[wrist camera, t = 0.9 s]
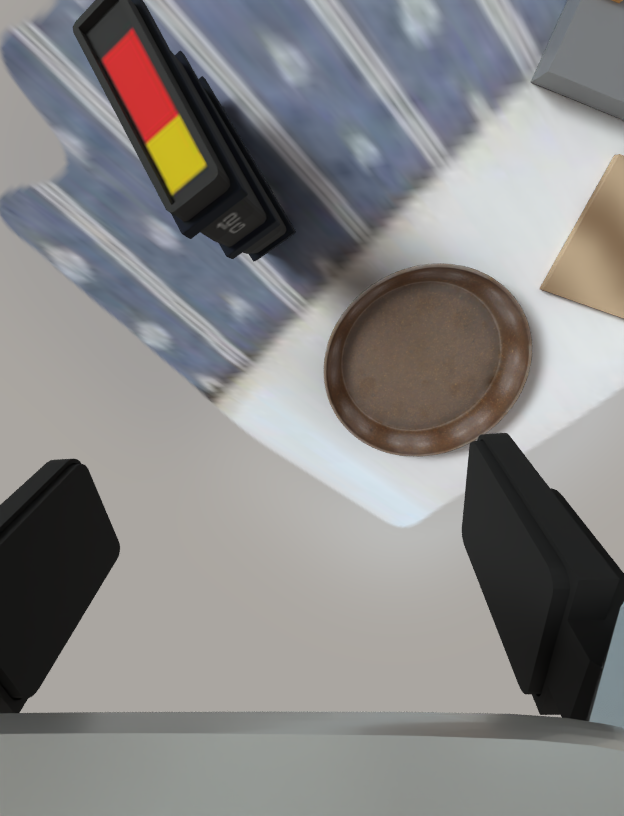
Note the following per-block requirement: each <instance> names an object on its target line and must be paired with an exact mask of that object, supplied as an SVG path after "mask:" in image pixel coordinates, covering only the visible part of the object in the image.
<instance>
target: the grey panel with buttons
mask: <svg viewBox="0 0 624 816" xmlns="http://www.w3.org/2000/svg"><path fill="white" fill-rule="evenodd" d="M531 83H534V84H536V85H539V86H541V87H544V88H546V89H549V90H551V91H554V92H556V93H558V94H561V95H563V96H566V97H568V98H571V99H573V100H576V101H578V102H581V103H583V104H585V105H588V106H590V107H593V108H595V109H598V110H600V111H603V112H605V113H607V114H610V115H612V116H615V117H617V118H620V119H622V120H624V0H567V3H566V5H565V7H564V9H563V11H562V14H561V16H560V18H559V20H558V23H557V25H556V27H555V29H554V32H553V34H552V36H551V38H550V40H549V43H548V45H547V47H546V49H545V52H544V54H543V56H542V58H541V61H540V63H539V65H538V67H537V69H536V72H535V74H534V76H533V78H532V81H531Z"/></svg>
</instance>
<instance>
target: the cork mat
mask: <svg viewBox="0 0 624 816" xmlns="http://www.w3.org/2000/svg"><path fill="white" fill-rule="evenodd" d="M540 289H541V290H544V291H547V292H550V293H553V294H555V295H558V296H561V297H564V298H567V299H570V300H572V301H575V302H578V303H581V304H584V305H587V306H589V307H592V308H595V309H598V310H601V311H604V312H606V313H609V314H612V315H615V316H618V317H621V318H623V319H624V156H623V155H620V154H618V155H614V157H613V159H612V160H611V162H610V164H609V166H608V167H607V169H606V171H605V173H604V175H603V176H602V178H601V180H600V182H599V183H598V185H597V187H596V189H595V191H594V192H593V194H592V196H591V198H590V200H589V201H588V203H587V205H586V207H585V208H584V210H583V212H582V214H581V216H580V217H579V219H578V221H577V223H576V224H575V226H574V228H573V230H572V232H571V233H570V235H569V237H568V239H567V241H566V242H565V244H564V246H563V248H562V249H561V251H560V253H559V255H558V257H557V258H556V260H555V262H554V264H553V265H552V267H551V269H550V271H549V273H548V274H547V276H546V278H545V280H544V282H543V283H542V285H541V287H540Z"/></svg>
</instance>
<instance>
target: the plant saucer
mask: <svg viewBox="0 0 624 816" xmlns="http://www.w3.org/2000/svg"><path fill="white" fill-rule="evenodd" d="M531 358H532V338H531V333H530V328H529V325H528V321H527V319H526V316H525V314H524V312H523V310H522V308H521V306H520V304H519V303H518V302H517V300H516V299H515V297H514V296H513V295H512V294H511V293H510V292H509V291H508V290H507V289H506V288H505V287H504V286H503V285H502V284H501V283H499V282H498V281H496V280H495V279H493V278H492V277H490V276H489V275H487V274H485V273H482V272H480V271H478V270H475V269H472V268H468V267H465V266H460V265H453V264H426V265H418V266H414V267H410V268H407V269H403V270H401V271H398V272H395V273H393V274H391V275H389V276H387V277H385V278H383V279H381V280H379V281H378V282H376V283H375V284H373V285H372V286H370V287H369V288H367V289H366V290H365V291H364V292H362V293H361V294H360V295H359V296H358V297H357V298H356V299H355V300H354V301H353V302H352V303H351V304H350V305H349V306H348V308H347V309H346V310H345V311H344V313H343V314H342V316H341V317H340V319H339V320H338V322H337V324H336V325H335V327H334V329H333V331H332V334H331V336H330V339H329V342H328V345H327V349H326V353H325V359H324V383H325V388H326V393H327V396H328V399H329V402H330V405H331V407H332V409H333V411H334V413H335V414H336V416H337V418H338V419H339V420H340V422H341V423H342V424H343V425H344V427H345V428H346V429H347V430H348V431H349V432H350V433H351V434H353V435H354V436H355V437H356V438H358V439H359V440H360V441H362V442H363V443H365V444H367V445H369V446H371V447H373V448H375V449H378V450H380V451H383V452H386V453H390V454H395V455H400V456H429V455H436V454H441V453H446V452H449V451H452V450H454V449H458V448H460V447H462V446H465V445H467V444H469V443H471V442H472V441H475V440H476V439H478V437H479V436H480V435H481V434H485V433H487V432H488V431H490V430H491V429H492V428H493V427H494V426H495V425H497V424H498V423H499V422H500V421H501V420H502V418H503V417H504V416H505V415H506V414H507V413H508V412H509V410H510V409H511V408H512V407H513V405H514V403H515V402H516V401H517V399H518V397H519V395H520V393H521V392H522V390H523V387H524V384H525V382H526V380H527V377H528V373H529V369H530V365H531Z"/></svg>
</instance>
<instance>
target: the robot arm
mask: <svg viewBox="0 0 624 816" xmlns="http://www.w3.org/2000/svg"><path fill="white" fill-rule="evenodd" d="M462 537H463V542H464V546H465V548H466V551H467V553H468V556H469V558H470V561H471V564H472V566H473V569H474V571H475V573H476V576H477V579H478V581H479V584H480V587H481V589H482V592H483V594H484V597H485V600H486V602H487V605H488V607H489V610H490V612H491V615H492V617H493V620H494V622H495V625H496V628H497V630H498V633H499V635H500V638H501V640H502V643H503V646H504V648H505V651H506V653H507V656H508V659H509V661H510V664H511V666H512V669H513V671H514V674H515V677H516V679H517V682H518V684H519V686H520V689H521V690H522V692H523V693H524V694H532V696H533V698H534V701H535V703H536V706H537V708H538V711H539V713H540V715H554V714H555V715H561V716H562V718H560V717H546V716H532V715H518V714H488V713H487V714H486V713H485V714H484V713H436V712H435V713H434V712H104V713H103V712H92V713H91V712H90V713H88V712H86V713H84V712H83V713H19V712H20V711H21V709H22V708H23V706H24V704H25V703H26V701H27V699H28V698H30V697H32V696H33V695H34V694H35V693H36V692H37V690H38V689H39V688H40V686H41V684H42V683H43V681H44V679H45V678H46V676H47V674H48V673H49V671H50V669H51V668H52V666H53V664H54V663H55V661H56V659H57V658H58V656H59V654H60V653H61V651H62V649H63V648H64V646H65V644H66V643H67V641H68V639H69V638H70V636H71V635H72V632H73V631H74V630H75V628H76V626H77V625H78V623H79V621H80V620H81V618H82V616H83V614H84V613H85V611H86V610H87V608H88V606H89V605H90V603H91V601H92V600H93V598H94V596H95V595H96V593H97V591H98V590H99V588H100V586H101V585H102V583H103V581H104V580H105V578H106V577H107V575H108V573H109V572H110V570H111V568H112V567H113V565H114V563H115V562H116V560H117V558H118V556H119V552H120V544H119V541H118V539H117V536H116V534H115V532H114V529H113V527H112V524H111V522H110V520H109V518H108V515H107V513H106V511H105V508H104V506H103V504H102V501H101V498H100V496H99V494H98V491H97V489H96V487H95V484H94V482H93V479H92V477H91V475H90V472H89V470H88V468H87V467H86V466H85V465H83V464H81V463H80V461H79V460H77V459H62V460H51V461H49V462H47V463H46V464H45V465H44V466H43V467H42V468H40V470H38V471H37V472H36V473H35V474H34V475H33V476H32V477H31V478H29V480H27V481H26V482H25V483H24V484H23V485H22V486H21V487H20V488H19V489H17V490H16V491H15V492H14V493H13V494H12V495H11V496H10V497H9V498H8V499H6V500H5V501H4V502H3V503H2V504H1V505H0V816H624V573H623V572H622V571H621V569H620V568H619V567H618V565H617V564H616V563H615V562H614V561H613V559H612V558H611V557H610V555H609V554H608V553H607V552H606V550H605V549H604V548H603V546H602V545H601V544H600V543H599V541H598V540H597V539H596V538H595V536H594V535H593V534H592V533H591V531H590V530H589V529H588V528H587V526H586V525H585V524H584V523H583V521H582V520H581V519H580V518H579V516H578V515H577V514H576V512H575V511H574V510H573V509H572V507H571V506H570V505H569V503H568V502H567V501H566V500H565V498H564V497H563V496H562V495H561V494H560V493H559V492H558V491H557V490H555V489H550V488H549V486H548V485H547V484H546V483H545V481H544V480H543V479H542V477H541V476H540V475H539V473H538V472H537V471H536V470H535V468H534V467H533V466H532V464H531V463H530V462H529V460H528V459H527V458H526V457H525V455H524V454H523V453H522V451H521V450H520V449H519V447H518V446H517V445H516V443H515V442H514V441H513V440H512V438H511V437H510V436H509V435H508V434H507V433H497V434H481V435H480V436H479V437H478V440H477V441H472V442H471V443H470V447H469V458H468V468H467V479H466V490H465V501H464V512H463V522H462Z"/></svg>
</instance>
